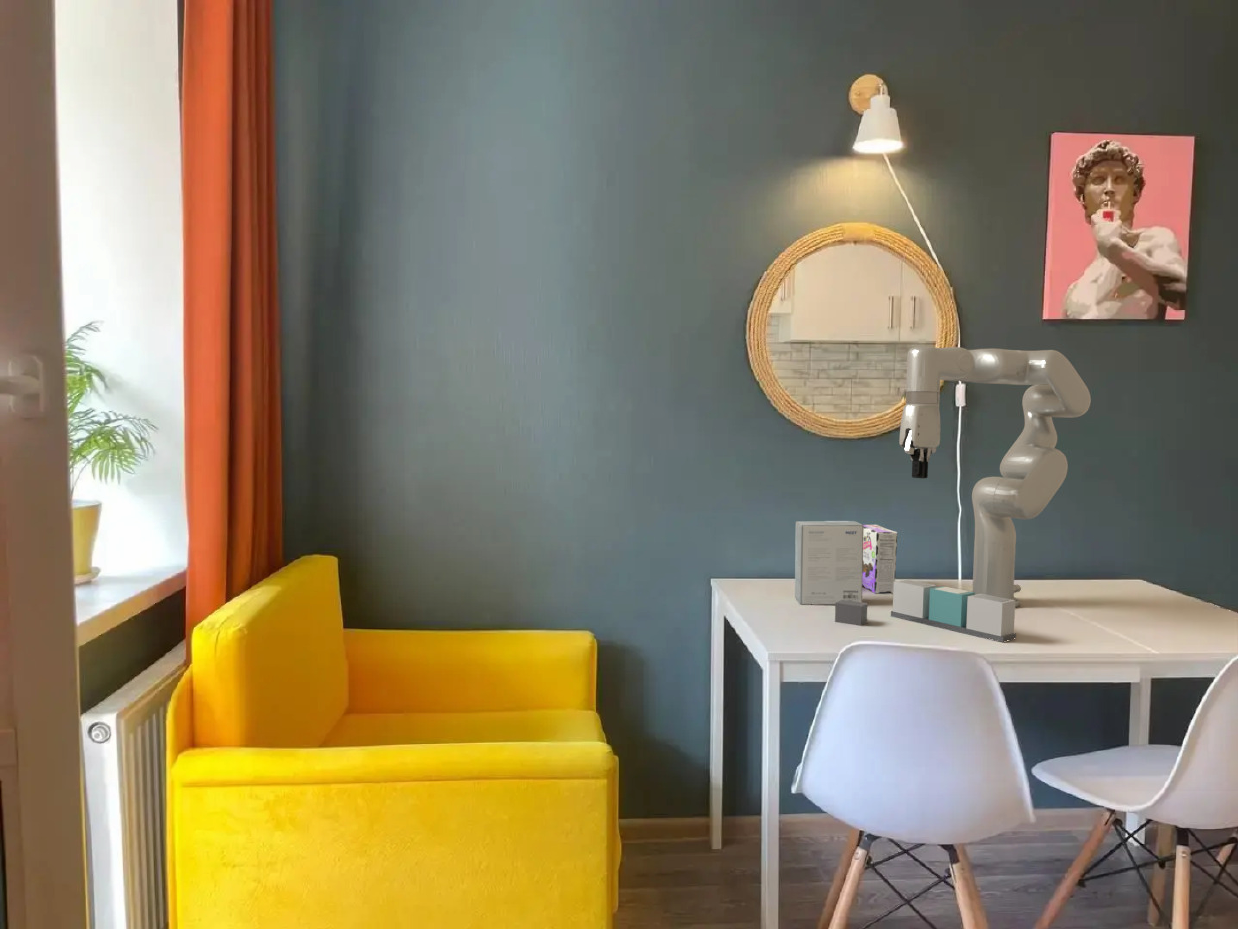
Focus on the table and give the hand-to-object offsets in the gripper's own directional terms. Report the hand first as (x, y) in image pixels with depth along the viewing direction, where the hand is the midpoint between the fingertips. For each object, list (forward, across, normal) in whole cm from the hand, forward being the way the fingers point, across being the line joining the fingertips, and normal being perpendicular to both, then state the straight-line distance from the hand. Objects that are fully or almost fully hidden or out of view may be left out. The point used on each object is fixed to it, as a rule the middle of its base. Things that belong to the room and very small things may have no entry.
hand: (919, 477), depth 215 cm
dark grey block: (+32, +21, -2) cm, 39 cm away
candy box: (+32, -15, -23) cm, 42 cm away
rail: (+32, +6, +14) cm, 35 cm away
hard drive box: (+32, +9, -19) cm, 39 cm away
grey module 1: (+31, +6, +4) cm, 32 cm away
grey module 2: (+31, +6, +23) cm, 39 cm away
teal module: (+31, +6, +14) cm, 34 cm away
